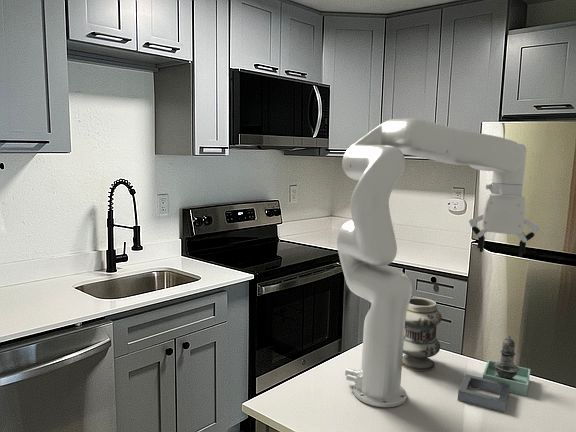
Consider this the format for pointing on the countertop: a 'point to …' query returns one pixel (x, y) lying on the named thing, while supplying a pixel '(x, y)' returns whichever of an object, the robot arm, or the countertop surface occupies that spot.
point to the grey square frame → (483, 399)
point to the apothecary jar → (420, 334)
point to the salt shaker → (507, 361)
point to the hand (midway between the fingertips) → (500, 253)
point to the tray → (515, 386)
